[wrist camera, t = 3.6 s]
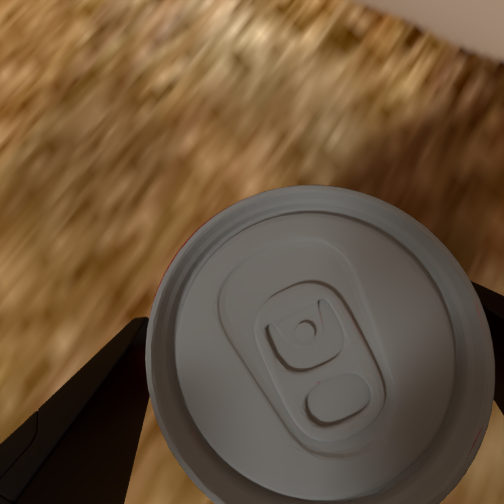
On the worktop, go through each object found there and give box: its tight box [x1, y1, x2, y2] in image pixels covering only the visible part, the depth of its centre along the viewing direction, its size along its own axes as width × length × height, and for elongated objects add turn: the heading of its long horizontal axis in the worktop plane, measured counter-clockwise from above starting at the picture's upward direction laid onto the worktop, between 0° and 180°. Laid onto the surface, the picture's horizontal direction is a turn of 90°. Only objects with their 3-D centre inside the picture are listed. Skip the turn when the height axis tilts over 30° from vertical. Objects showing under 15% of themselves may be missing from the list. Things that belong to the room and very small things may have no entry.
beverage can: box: [145, 185, 495, 504], centre depth 11 cm, size 7×7×12 cm
